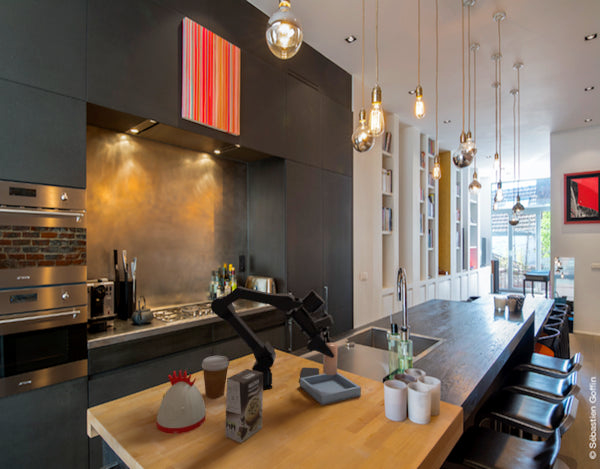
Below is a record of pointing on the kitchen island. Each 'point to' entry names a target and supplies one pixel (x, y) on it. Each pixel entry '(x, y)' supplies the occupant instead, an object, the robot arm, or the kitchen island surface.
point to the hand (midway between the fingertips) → (334, 354)
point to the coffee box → (244, 405)
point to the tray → (330, 388)
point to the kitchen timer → (181, 406)
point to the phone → (309, 372)
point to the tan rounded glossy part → (330, 361)
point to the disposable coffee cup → (215, 375)
